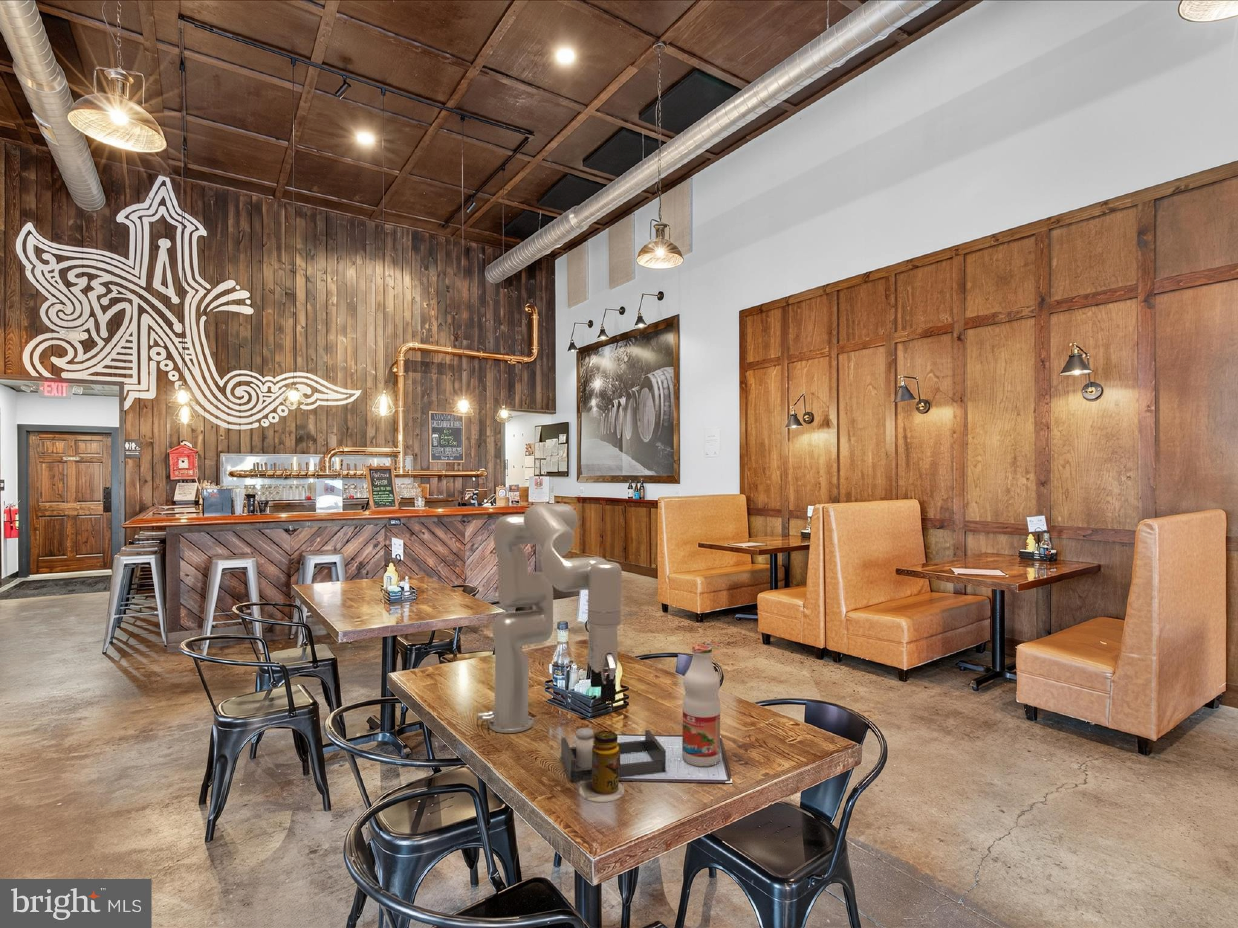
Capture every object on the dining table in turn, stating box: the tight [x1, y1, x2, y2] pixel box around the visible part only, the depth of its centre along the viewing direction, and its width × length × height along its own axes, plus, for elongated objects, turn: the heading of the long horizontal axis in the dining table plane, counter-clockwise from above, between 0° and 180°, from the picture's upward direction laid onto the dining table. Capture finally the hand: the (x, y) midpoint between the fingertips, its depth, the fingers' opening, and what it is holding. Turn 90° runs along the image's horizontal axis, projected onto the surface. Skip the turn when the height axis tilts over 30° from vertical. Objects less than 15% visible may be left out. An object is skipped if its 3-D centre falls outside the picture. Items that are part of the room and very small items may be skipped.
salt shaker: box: [575, 727, 594, 769], centre depth 153 cm, size 4×4×8 cm
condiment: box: [579, 730, 624, 799], centre depth 141 cm, size 7×8×12 cm
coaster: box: [579, 782, 625, 803], centre depth 140 cm, size 10×10×1 cm
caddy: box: [560, 729, 667, 784], centre depth 153 cm, size 23×13×5 cm, turn 105°
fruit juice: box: [681, 644, 721, 767], centre depth 157 cm, size 9×9×28 cm
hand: (602, 693), depth 141 cm, fingers open, 9 cm apart
